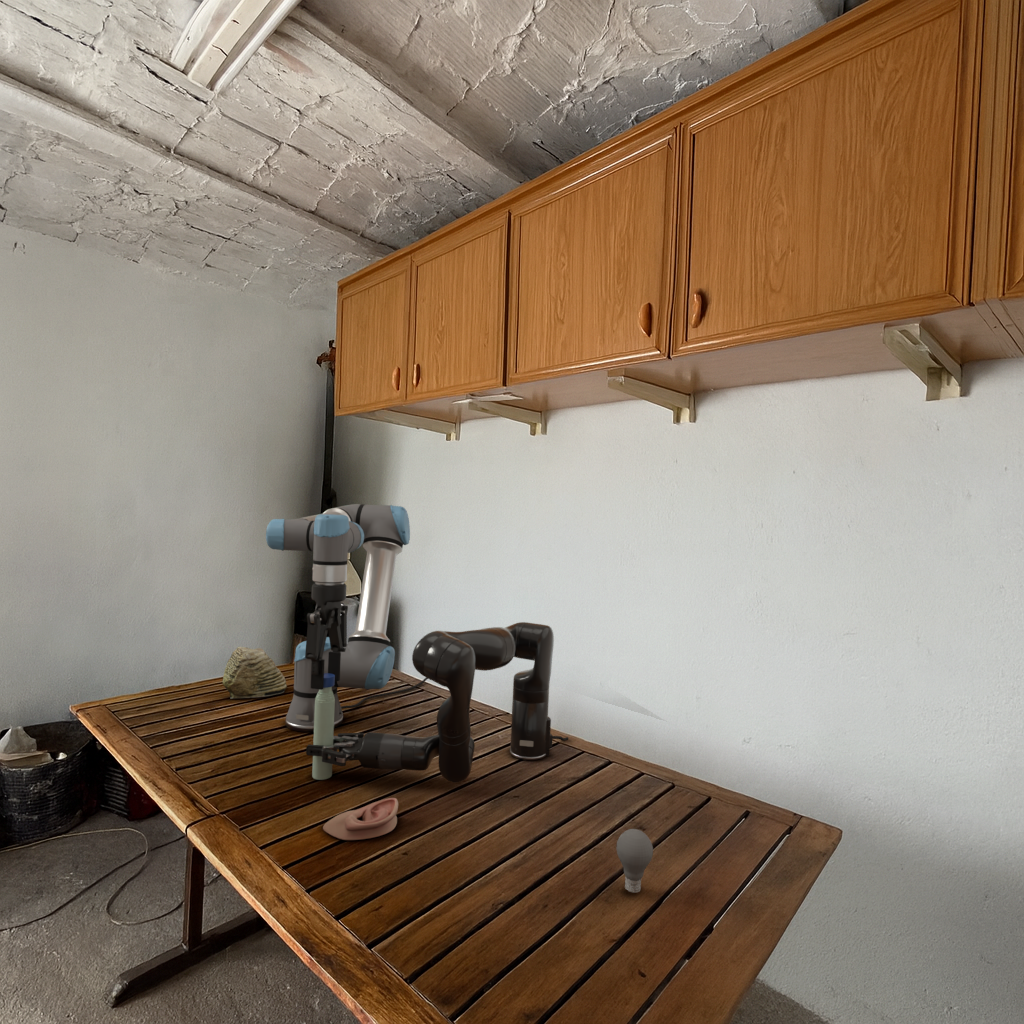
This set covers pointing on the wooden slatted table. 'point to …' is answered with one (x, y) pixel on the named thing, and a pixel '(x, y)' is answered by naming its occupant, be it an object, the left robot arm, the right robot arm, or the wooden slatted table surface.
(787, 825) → the wooden slatted table surface
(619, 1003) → the wooden slatted table surface
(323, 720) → the bottle
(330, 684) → the cap
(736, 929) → the wooden slatted table surface
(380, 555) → the left robot arm
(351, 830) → the anatomical model
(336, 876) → the wooden slatted table surface
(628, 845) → the light bulb
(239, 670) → the fossil
